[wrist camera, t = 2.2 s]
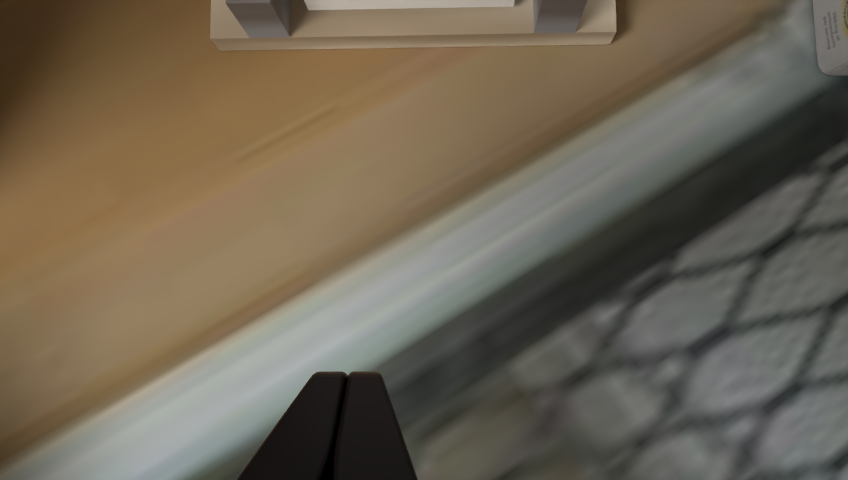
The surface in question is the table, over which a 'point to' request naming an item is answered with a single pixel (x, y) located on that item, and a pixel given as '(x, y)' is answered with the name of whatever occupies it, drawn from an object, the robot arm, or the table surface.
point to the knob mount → (409, 25)
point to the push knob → (402, 4)
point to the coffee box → (831, 36)
